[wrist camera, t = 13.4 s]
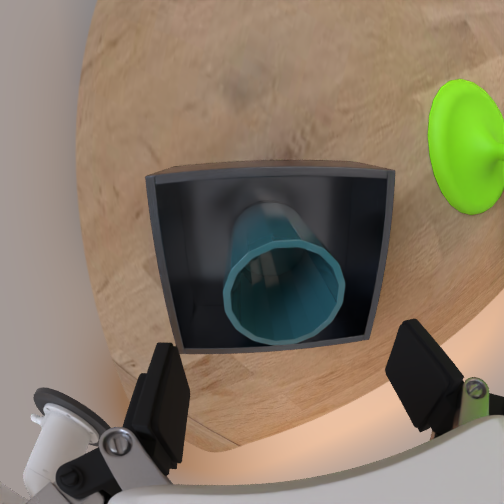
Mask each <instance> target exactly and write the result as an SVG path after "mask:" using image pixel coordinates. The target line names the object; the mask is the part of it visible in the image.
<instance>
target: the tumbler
mask: <svg viewBox="0 0 504 504" xmlns="http://www.w3.org/2000/svg"><path fill="white" fill-rule="evenodd" d="M344 291H345V280H344V277H343V274H342V270H341V267H340V264H339V263H338V261H337V260H336V259H335V258H334V256H333V255H332V254H331V252H330V251H329V250H328V249H327V247H326V246H325V245H324V244H323V242H322V241H321V240H320V239H319V237H318V236H317V235H316V234H315V232H314V231H313V230H312V229H311V228H310V226H309V225H308V224H307V223H306V221H305V220H304V219H303V218H302V217H301V216H300V215H299V214H298V213H297V212H296V211H295V210H293V209H292V208H290V207H288V206H286V205H283V204H280V203H274V202H267V203H261V204H257V205H254V206H252V207H250V208H248V209H247V210H245V211H244V212H243V213H242V214H241V215H240V216H239V217H238V218H237V219H236V221H235V223H234V224H233V227H232V229H231V232H230V236H229V241H228V249H227V258H226V267H225V276H224V285H223V299H224V308H225V313H226V315H227V316H228V318H229V319H230V321H231V323H232V324H233V326H234V327H235V329H236V330H238V331H239V332H241V333H242V334H244V335H245V336H247V337H248V338H250V339H251V340H253V341H256V342H260V343H264V344H269V345H274V346H276V345H288V344H296V343H299V342H301V341H304V340H306V339H308V338H311V337H313V336H315V335H317V334H318V333H319V332H320V331H322V330H323V329H324V328H325V327H326V326H328V325H329V324H330V323H331V322H332V321H333V319H334V318H335V316H336V314H337V313H338V311H339V309H340V308H341V306H342V304H343V298H344Z"/></svg>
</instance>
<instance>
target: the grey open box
mask: <svg viewBox="0 0 504 504" xmlns="http://www.w3.org/2000/svg"><path fill="white" fill-rule="evenodd" d="M145 179H146V188H147V197H148V205H149V213H150V220H151V227H152V233H153V240H154V246H155V252H156V257H157V263H158V268H159V273H160V279H161V283H162V288H163V293H164V298H165V302H166V307H167V311H168V315H169V319H170V323H171V328H172V332H173V335H174V339H175V343H176V346H177V347H178V350H179V354H185V353H186V354H231V353H254V352H270V351H283V350H294V349H304V348H313V347H321V346H329V345H337V344H344V343H350V342H357V341H362V340H369V338H370V334H371V330H372V326H373V322H374V318H375V314H376V310H377V305H378V301H379V296H380V291H381V286H382V281H383V276H384V270H385V264H386V258H387V252H388V245H389V238H390V230H391V221H392V211H393V200H394V186H395V170H391V169H387V168H383V167H378V166H373V165H368V164H363V163H358V162H351V161H328V160H260V161H236V162H219V163H206V164H194V165H184V166H174V167H171V168H168V169H165V170H162V171H159V172H156V173H153V174H150V175H147V176H146V177H145ZM267 202H274V203H280V204H283V205H286V206H288V207H290V208H292V209H293V210H295V211H296V212H297V213H298V214H299V215H300V216H301V217H302V218H303V219H304V220H305V221H306V223H307V224H308V225H309V226H310V228H311V229H312V230H313V231H314V232H315V234H316V235H317V236H318V237H319V239H320V240H321V241H322V242H323V244H324V245H325V246H326V247H327V249H328V250H329V251H330V252H331V254H332V255H333V256H334V258H335V259H336V260H337V261H338V263H339V264H340V267H341V270H342V274H343V277H344V280H345V291H344V298H343V304H342V306H341V308H340V309H339V311H338V313H337V314H336V316H335V318H334V319H333V321H332V322H331V323H330V324H329V325H328V326H326V327H325V328H324V329H323V330H322V331H320V332H319V333H318V334H317V335H315V336H313V337H311V338H308V339H306V340H304V341H301V342H299V343H296V344H288V345H276V346H274V345H269V344H264V343H260V342H256V341H253V340H251V339H250V338H248V337H247V336H245V335H244V334H242V333H241V332H239V331H238V330H236V329H235V327H234V326H233V324H232V323H231V321H230V319H229V318H228V316H227V315H226V313H225V308H224V299H223V285H224V276H225V267H226V258H227V249H228V241H229V236H230V232H231V229H232V227H233V224H234V223H235V221H236V219H237V218H238V217H239V216H240V215H241V214H242V213H243V212H244V211H245V210H247V209H248V208H250V207H252V206H254V205H257V204H261V203H267Z"/></svg>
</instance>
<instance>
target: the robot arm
mask: <svg viewBox="0 0 504 504" xmlns="http://www.w3.org/2000/svg"><path fill="white" fill-rule="evenodd" d="M385 372H386V375H387V377H388V379H389V381H390V382H391V384H392V386H393V388H394V390H395V391H396V393H397V395H398V397H399V399H400V400H401V402H402V404H403V406H404V408H405V410H406V412H407V414H408V415H409V417H410V419H411V421H412V423H413V425H414V426H415V427H416V428H418V429H419V431H420V432H422V431H424V430H427V429H429V428H430V427H431V428H432V434H431V438H430V441H428V442H426V443H424V444H421V445H419V446H417V447H414V448H412V449H409V450H407V451H404V452H402V453H399V454H397V455H394V456H391V457H388V458H385V459H383V460H379V461H376V462H373V463H370V464H367V465H363V466H360V467H356V468H352V469H349V470H345V471H341V472H336V473H332V474H327V475H322V476H317V477H312V478H306V479H300V480H293V481H285V482H277V483H266V484H251V485H179V484H178V485H174V484H173V483H172V482H171V481H170V480H169V478H168V477H167V475H168V474H169V469H177V463H181V462H182V456H183V446H184V439H185V431H186V423H187V415H188V408H189V401H190V389H189V385H188V382H187V379H186V375H185V372H184V369H183V365H182V361H181V358H180V354H179V350H178V347H177V346H173V344H172V343H157V345H156V348H155V351H154V354H153V357H152V360H151V363H150V366H149V369H148V372H147V373H141V374H140V376H139V378H138V380H137V383H136V386H135V389H134V392H133V395H132V398H131V401H130V405H129V408H128V411H127V414H126V417H125V420H124V424H123V427H114V428H110V429H108V430H107V431H105V432H104V433H103V434H102V435H101V437H100V439H99V434H98V432H97V431H96V430H95V429H94V428H93V426H92V425H90V424H89V423H88V422H87V421H85V420H84V419H83V418H81V417H80V416H78V415H77V414H75V413H74V412H72V411H70V410H68V409H66V408H64V407H62V406H60V405H57V404H53V403H47V404H46V405H45V406H44V408H43V411H44V413H45V416H42V417H40V416H38V415H36V414H32V415H31V420H32V421H33V422H35V423H37V424H40V426H41V427H42V430H41V433H40V435H39V437H38V439H37V441H36V444H35V446H34V448H33V451H32V453H31V455H30V458H29V460H28V463H27V465H26V468H25V470H24V473H23V480H24V484H25V486H26V489H27V491H28V493H29V495H30V498H31V499H30V500H28V499H26V498H24V497H22V496H20V495H19V494H17V493H16V492H14V491H13V490H11V489H10V488H8V487H7V486H6V485H4V484H3V483H1V482H0V504H504V397H502V396H498V395H494V394H490V393H489V388H488V386H487V384H486V383H485V382H484V381H483V380H481V379H480V378H476V377H472V378H468V379H467V380H466V381H465V382H464V381H463V378H464V376H463V375H462V373H461V372H460V371H459V370H458V368H457V367H456V366H455V364H454V363H453V362H452V361H451V359H450V358H449V357H448V356H447V354H446V353H445V352H444V351H443V349H442V348H441V347H440V346H439V345H438V343H437V342H436V341H435V340H434V339H433V337H432V336H431V335H430V334H429V333H428V332H427V330H426V329H425V328H424V327H423V326H422V325H421V324H420V322H419V321H418V320H417V319H410V320H405V321H403V323H402V325H400V327H399V330H398V333H397V336H396V339H395V342H394V345H393V348H392V351H391V354H390V357H389V360H388V362H387V365H386V368H385ZM98 440H99V447H98V448H96V449H94V450H92V451H91V452H88V453H86V450H87V448H88V445H89V443H97V442H98ZM85 453H86V454H85Z"/></svg>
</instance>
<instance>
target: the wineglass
mask: <svg viewBox="0 0 504 504" xmlns="http://www.w3.org/2000/svg"><path fill="white" fill-rule="evenodd" d="M428 144H429V156H430V160H431V164H432V168H433V172H434V176H435V178H436V181H437V183H438V185H439V188H440V190H441V192H442V194H443V195H444V197H445V198H446V199H447V201H448V202H449V204H450V205H451V206H453V207H454V208H455V209H457V210H458V211H459V212H461V213H465V214H469V215H474V214H479V213H483V212H485V211H486V210H488V209H489V208H491V207H492V206H493V205H494V204H495V203H496V201H497V200H498V199H499V198H500V196H501V194H502V192H503V190H504V119H503V117H502V114H501V112H500V110H499V109H498V107H497V105H496V103H495V102H494V101H493V99H492V98H491V97H490V96H489V95H488V94H487V92H486V91H485V90H483V89H482V88H481V87H479V86H478V85H476V84H475V83H473V82H470V81H466V80H463V79H457V80H451V81H449V82H447V83H446V84H445V85H443V86H442V87H441V88H440V90H439V91H438V93H437V95H436V96H435V98H434V100H433V103H432V107H431V111H430V114H429V125H428Z"/></svg>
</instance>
